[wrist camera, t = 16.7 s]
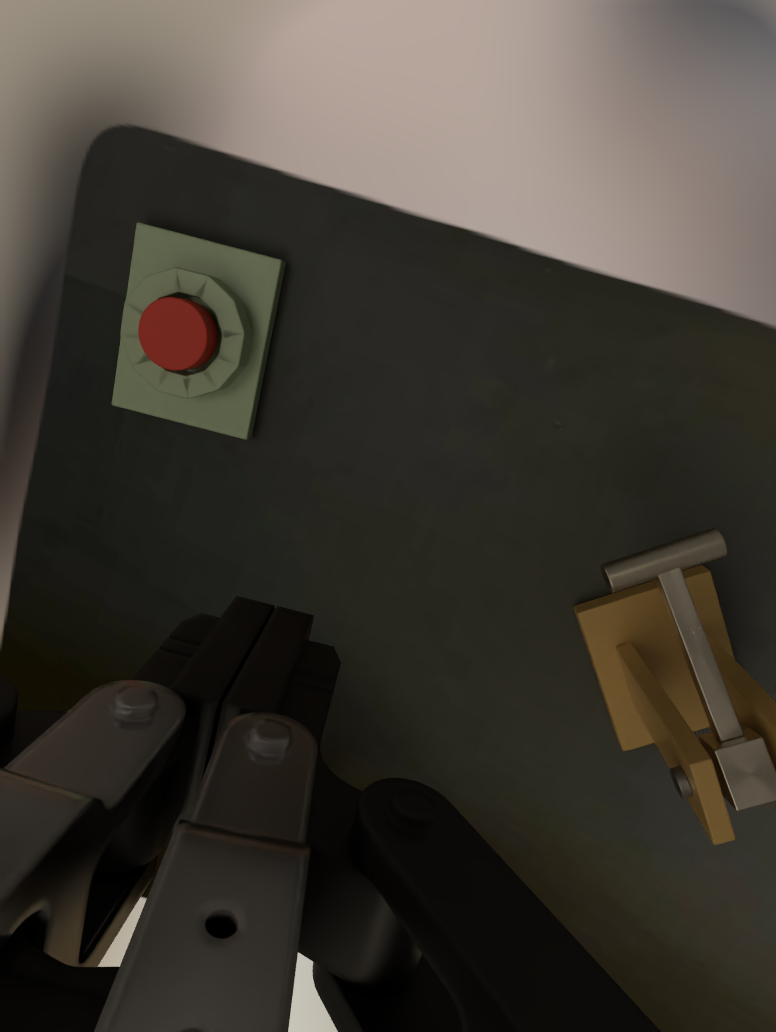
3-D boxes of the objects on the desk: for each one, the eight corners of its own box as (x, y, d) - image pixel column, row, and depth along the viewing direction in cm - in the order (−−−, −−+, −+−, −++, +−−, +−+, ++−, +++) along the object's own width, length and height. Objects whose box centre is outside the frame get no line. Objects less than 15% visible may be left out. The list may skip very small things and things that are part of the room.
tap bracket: (572, 605, 41) (637, 721, 28) (702, 564, 39) (829, 665, 27) (617, 741, 43) (696, 903, 30) (741, 705, 42) (876, 858, 29)
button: (156, 291, 35) (143, 288, 33) (223, 308, 35) (213, 307, 33) (146, 359, 35) (132, 360, 34) (211, 376, 36) (200, 378, 34)
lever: (596, 563, 33) (604, 565, 31) (706, 527, 32) (723, 526, 30) (684, 801, 32) (699, 822, 30) (800, 769, 31) (825, 788, 29)
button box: (145, 225, 36) (121, 215, 33) (286, 262, 36) (274, 255, 33) (120, 403, 39) (95, 408, 36) (252, 437, 39) (237, 444, 36)
